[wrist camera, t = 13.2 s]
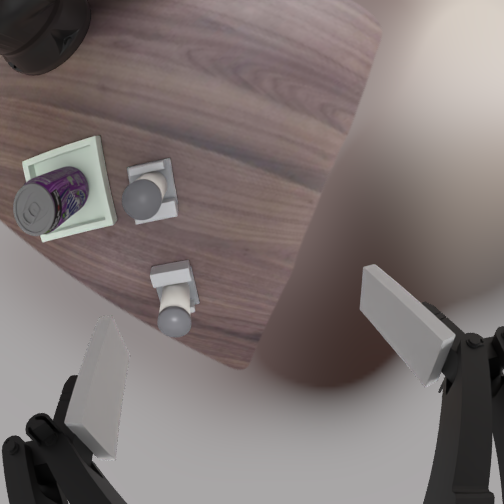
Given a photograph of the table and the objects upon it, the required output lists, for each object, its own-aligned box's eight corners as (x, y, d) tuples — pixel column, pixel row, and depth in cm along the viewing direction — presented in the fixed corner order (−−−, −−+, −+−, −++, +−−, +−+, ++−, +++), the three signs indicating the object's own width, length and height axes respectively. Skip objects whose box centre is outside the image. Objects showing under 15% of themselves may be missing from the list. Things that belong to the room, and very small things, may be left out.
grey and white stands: (127, 167, 38) (108, 177, 29) (170, 157, 39) (163, 165, 30) (163, 307, 48) (159, 346, 39) (199, 301, 49) (202, 339, 40)
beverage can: (70, 221, 39) (36, 251, 28) (42, 188, 36) (1, 209, 25) (99, 190, 38) (68, 212, 27) (70, 155, 35) (31, 166, 24)
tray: (29, 159, 34) (22, 161, 32) (100, 135, 36) (94, 135, 33) (48, 236, 39) (42, 242, 37) (117, 219, 41) (113, 224, 39)
